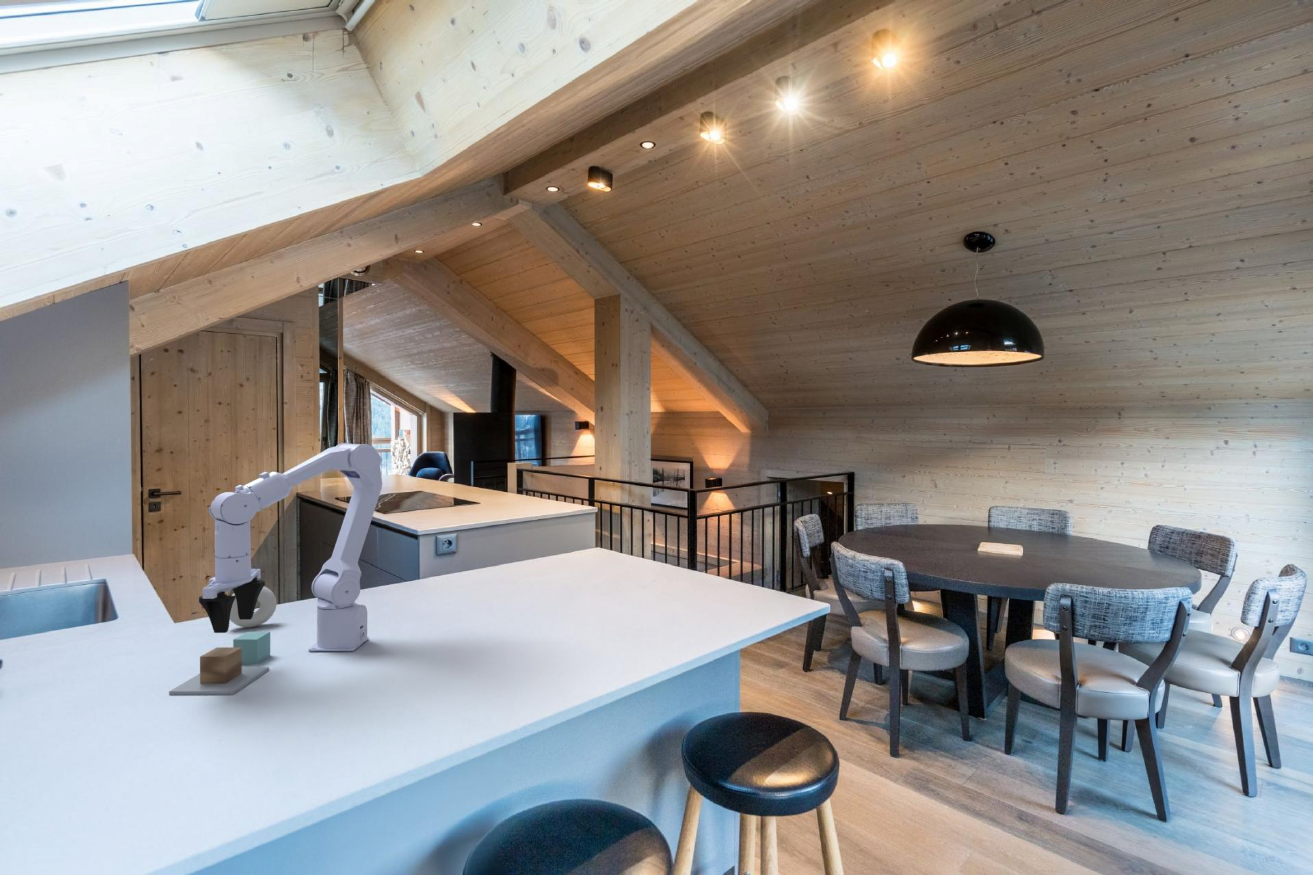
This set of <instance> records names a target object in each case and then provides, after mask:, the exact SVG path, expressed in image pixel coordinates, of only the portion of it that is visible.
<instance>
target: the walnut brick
mask: <svg viewBox="0 0 1313 875" xmlns="http://www.w3.org/2000/svg"><path fill="white" fill-rule="evenodd" d="M242 667H243V664H242V647H233V646H232V647H229V646H228V647H224V646H223V647H219V646H218V647H215V648H213V649H211V650H209V651H208V652H205V653H203V654H202V655H200V656H199V674H200V684H226V683H228V682H229V681H231V680H232V679H234V678H236V677H237V676H239V675H240V674H242Z"/></svg>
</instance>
